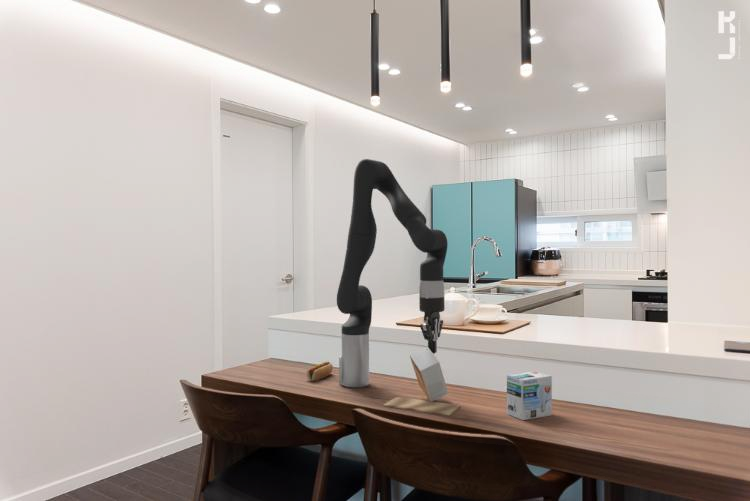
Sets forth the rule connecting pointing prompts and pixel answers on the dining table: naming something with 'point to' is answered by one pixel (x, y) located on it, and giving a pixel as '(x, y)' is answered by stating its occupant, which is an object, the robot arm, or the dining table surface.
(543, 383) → the light bulb box
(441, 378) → the small box
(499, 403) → the dining table surface
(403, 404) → the wooden board
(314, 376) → the food
